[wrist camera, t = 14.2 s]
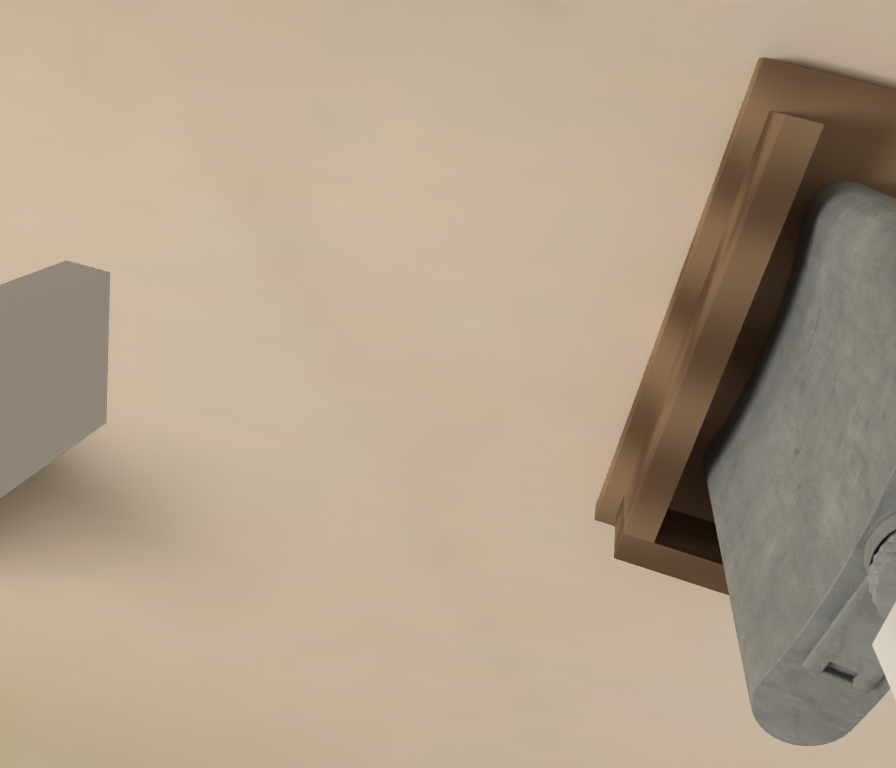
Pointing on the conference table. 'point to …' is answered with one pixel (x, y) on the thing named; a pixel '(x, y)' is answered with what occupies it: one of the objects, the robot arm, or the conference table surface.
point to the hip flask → (816, 478)
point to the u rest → (734, 303)
